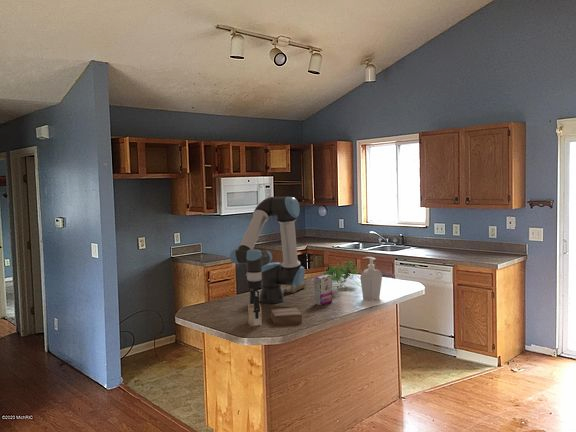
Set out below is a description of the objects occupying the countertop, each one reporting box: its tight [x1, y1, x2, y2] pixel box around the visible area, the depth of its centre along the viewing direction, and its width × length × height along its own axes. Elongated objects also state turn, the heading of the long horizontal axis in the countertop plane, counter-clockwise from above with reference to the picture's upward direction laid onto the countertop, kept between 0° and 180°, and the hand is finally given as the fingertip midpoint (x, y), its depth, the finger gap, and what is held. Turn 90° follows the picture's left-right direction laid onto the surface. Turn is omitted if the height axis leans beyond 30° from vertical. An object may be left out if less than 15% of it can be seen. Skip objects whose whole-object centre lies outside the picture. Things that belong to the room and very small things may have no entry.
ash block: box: [247, 302, 263, 327], centre depth 263 cm, size 6×6×10 cm
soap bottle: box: [359, 256, 383, 301], centre depth 314 cm, size 12×10×26 cm
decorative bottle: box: [283, 279, 307, 294], centre depth 337 cm, size 26×8×7 cm, turn 153°
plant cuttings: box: [323, 260, 361, 290], centre depth 340 cm, size 35×17×22 cm
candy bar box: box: [314, 274, 333, 306], centre depth 304 cm, size 11×5×16 cm, turn 137°
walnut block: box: [270, 307, 303, 326], centre depth 270 cm, size 14×14×5 cm
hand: (254, 321), depth 263 cm, fingers open, 12 cm apart
